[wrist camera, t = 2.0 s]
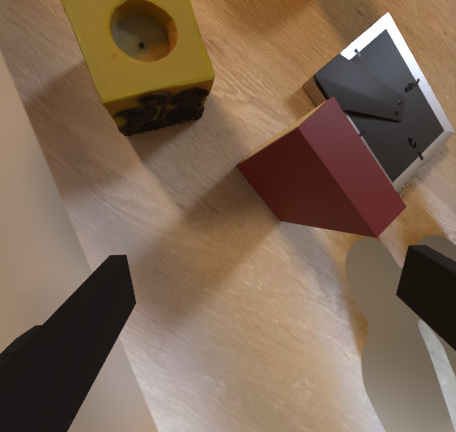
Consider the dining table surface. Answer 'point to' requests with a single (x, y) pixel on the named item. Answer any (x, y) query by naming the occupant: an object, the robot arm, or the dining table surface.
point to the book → (323, 176)
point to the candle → (143, 60)
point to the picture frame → (385, 100)
